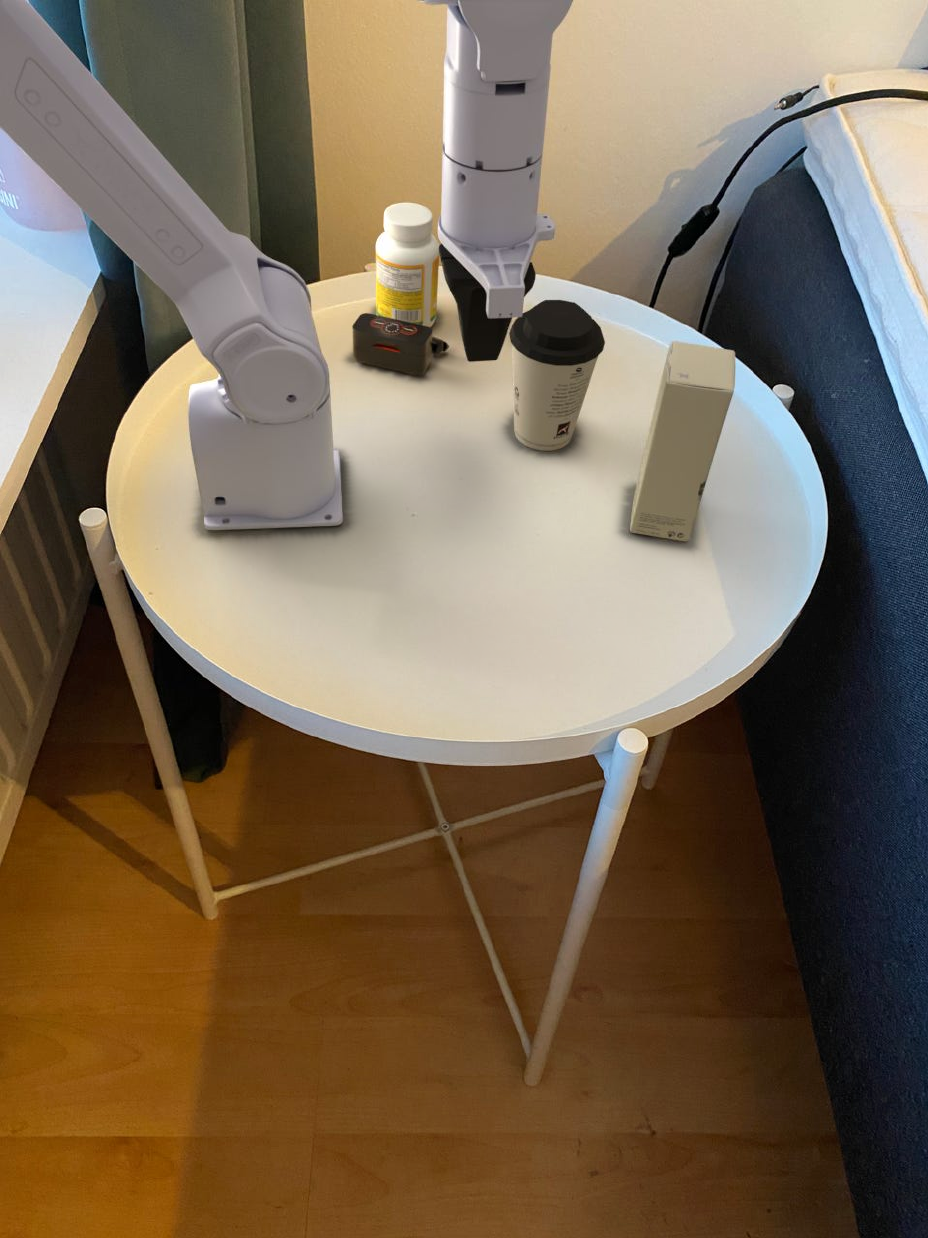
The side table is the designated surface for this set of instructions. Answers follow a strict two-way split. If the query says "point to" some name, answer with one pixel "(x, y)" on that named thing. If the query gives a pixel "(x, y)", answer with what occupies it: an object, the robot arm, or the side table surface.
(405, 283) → the supplement bottle
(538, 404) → the coffee cup
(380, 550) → the side table surface
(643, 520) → the box
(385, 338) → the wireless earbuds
